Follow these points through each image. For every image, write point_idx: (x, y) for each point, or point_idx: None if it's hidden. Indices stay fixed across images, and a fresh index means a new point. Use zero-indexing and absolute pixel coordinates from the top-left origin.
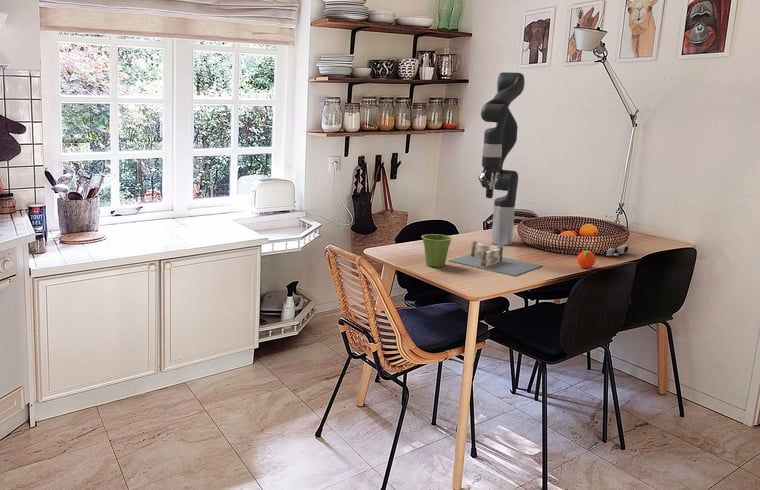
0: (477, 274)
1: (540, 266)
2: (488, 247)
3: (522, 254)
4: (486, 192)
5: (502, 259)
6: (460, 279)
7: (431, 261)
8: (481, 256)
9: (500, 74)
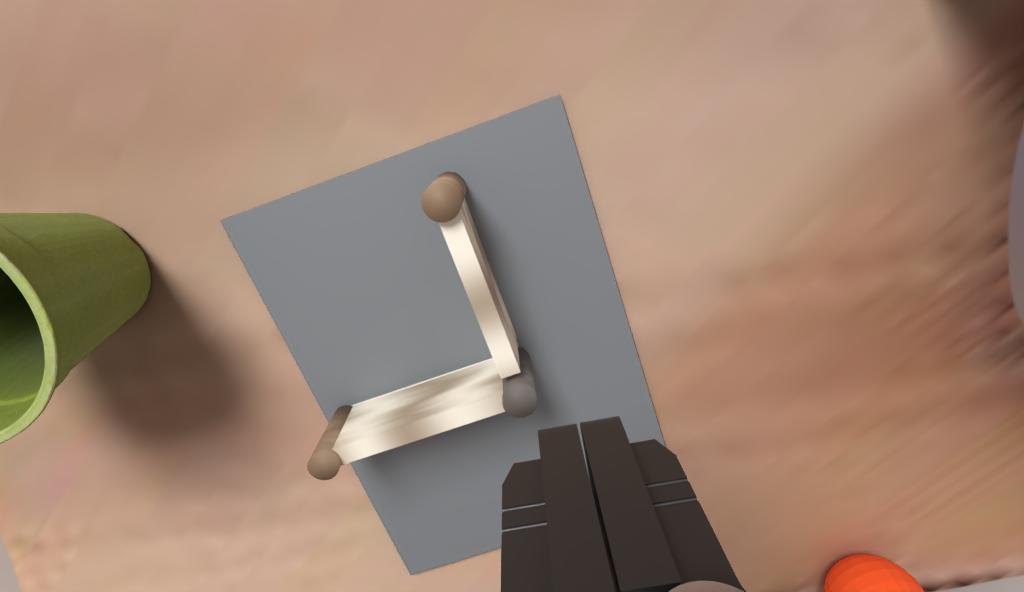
0: (249, 492)
1: None
2: (479, 323)
3: (804, 249)
4: (504, 559)
5: (569, 326)
6: (118, 529)
7: (17, 312)
8: (318, 443)
9: None
